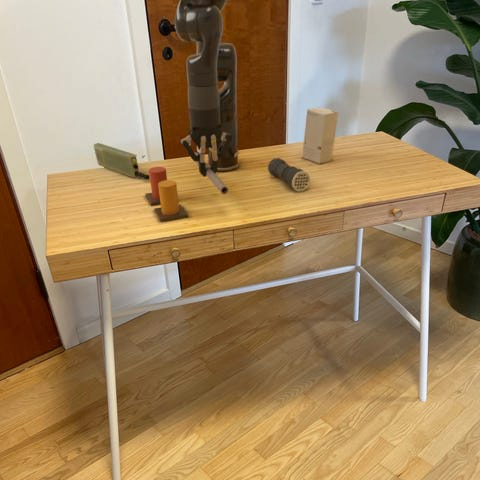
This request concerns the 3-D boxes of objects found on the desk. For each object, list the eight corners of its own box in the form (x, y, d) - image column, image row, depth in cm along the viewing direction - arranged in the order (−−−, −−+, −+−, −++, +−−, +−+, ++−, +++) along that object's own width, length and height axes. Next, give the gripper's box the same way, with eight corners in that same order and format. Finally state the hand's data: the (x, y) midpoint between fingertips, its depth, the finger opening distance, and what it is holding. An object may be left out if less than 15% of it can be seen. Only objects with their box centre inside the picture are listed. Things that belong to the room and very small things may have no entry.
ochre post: (154, 211, 118) (149, 180, 113) (180, 206, 120) (177, 176, 115) (160, 222, 113) (156, 190, 108) (188, 217, 114) (184, 185, 110)
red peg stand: (145, 196, 126) (141, 167, 121) (170, 192, 128) (167, 163, 123) (151, 205, 121) (146, 175, 116) (176, 201, 123) (173, 171, 118)
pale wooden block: (301, 158, 149) (304, 108, 140) (315, 154, 152) (318, 105, 143) (320, 164, 144) (324, 113, 135) (333, 160, 146) (338, 110, 138)
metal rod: (221, 194, 111) (220, 186, 110) (192, 159, 131) (191, 152, 130) (228, 193, 112) (228, 185, 110) (198, 158, 132) (197, 151, 131)
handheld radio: (105, 162, 150) (153, 179, 136) (96, 165, 148) (144, 183, 134) (100, 141, 146) (149, 157, 132) (91, 144, 144) (140, 160, 130)
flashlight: (266, 176, 137) (266, 157, 133) (281, 173, 138) (282, 154, 135) (292, 193, 125) (293, 173, 122) (309, 189, 127) (310, 170, 124)
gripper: (226, 98, 115) (228, 166, 126) (172, 103, 112) (179, 173, 122) (236, 105, 110) (237, 176, 120) (180, 111, 106) (186, 183, 117)
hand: (208, 174), depth 121 cm, fingers closed on metal rod, 2 cm apart
